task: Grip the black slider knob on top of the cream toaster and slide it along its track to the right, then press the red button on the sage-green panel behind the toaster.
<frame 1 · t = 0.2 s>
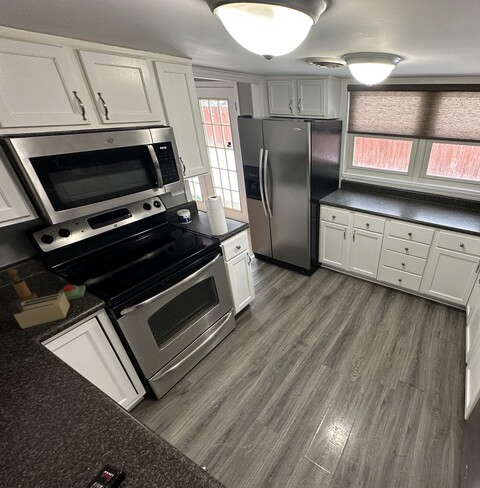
panel: (72, 295, 134), on the worktop
slider: (16, 306, 109), point 11 cm above the worktop, slide at 0.0 cm
toaster: (47, 317, 119), on the worktop
cancel button: (68, 288, 132), point 4 cm above the worktop, slide at 0.1 cm
wooden pepper mill: (28, 301, 129), on the worktop
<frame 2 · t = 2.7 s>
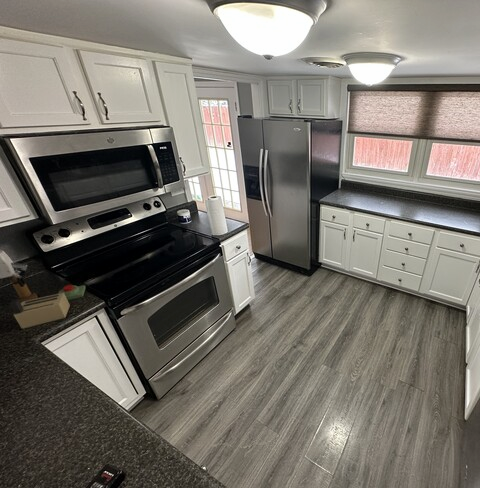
hand: (6, 288, 105), 20 cm above the worktop, tool pointing down, fingers open, 9 cm apart
nothing on the worktop moved.
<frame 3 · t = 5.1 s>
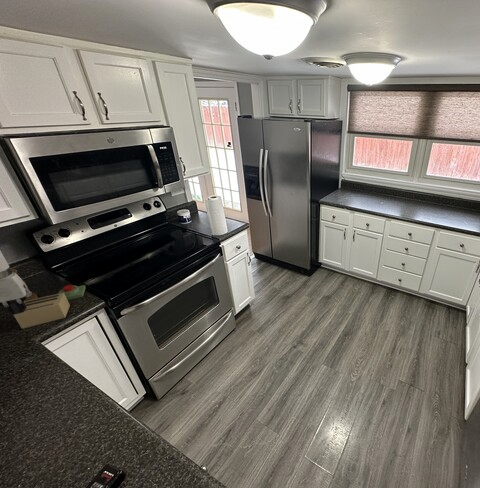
hand: (19, 311, 110), 8 cm above the worktop, tool pointing down, fingers closed on slider, 2 cm apart
slider: (16, 306, 109), point 11 cm above the worktop, slide at 0.0 cm, touching gripper
everything else where it was.
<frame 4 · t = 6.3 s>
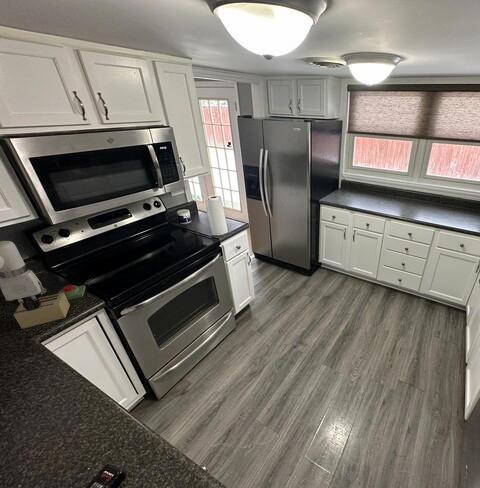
hand: (34, 307, 113), 8 cm above the worktop, tool pointing down, fingers closed on slider, 2 cm apart
slider: (31, 303, 112), point 11 cm above the worktop, slide at 4.4 cm, touching gripper
everything else where it was.
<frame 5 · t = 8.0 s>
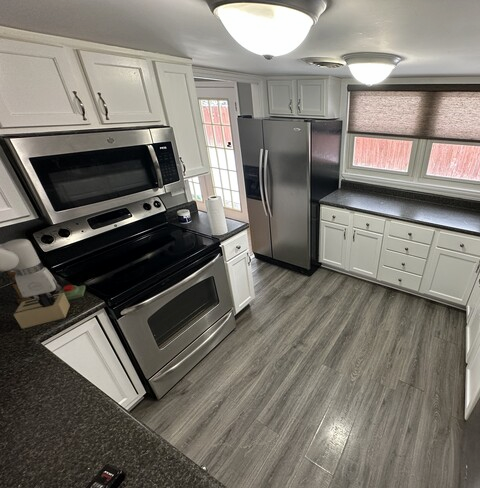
hand: (49, 304, 115), 8 cm above the worktop, tool pointing down, fingers closed on slider, 2 cm apart
slider: (46, 300, 114), point 11 cm above the worktop, slide at 9.1 cm, touching gripper
everything else where it was.
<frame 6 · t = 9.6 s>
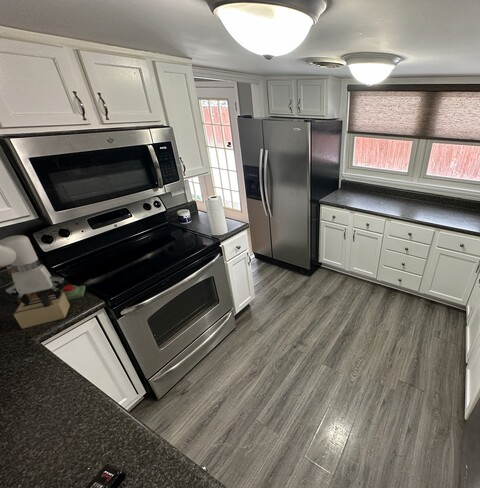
hand: (43, 300, 113), 11 cm above the worktop, tool pointing down, fingers open, 9 cm apart
slider: (45, 300, 114), point 11 cm above the worktop, slide at 8.8 cm
everything else where it was.
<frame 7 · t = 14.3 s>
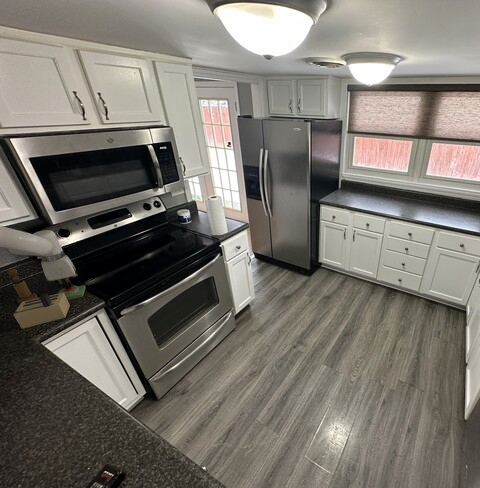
hand: (68, 288, 132), 5 cm above the worktop, tool pointing down, fingers closed
cancel button: (69, 289, 132), point 4 cm above the worktop, slide at -0.7 cm, touching gripper
everything else where it was.
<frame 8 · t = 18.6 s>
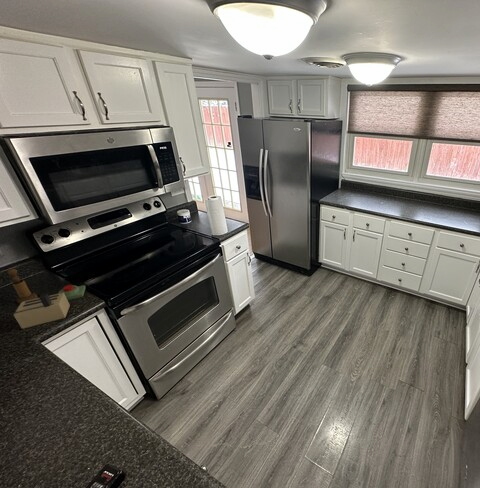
cancel button: (68, 288, 132), point 4 cm above the worktop, slide at 0.1 cm
everything else where it was.
at the end: slider slide at 8.8 cm; cancel button pushed in 1.0 cm at the most during the clip, back to where it started at the end; cancel button slide at 0.1 cm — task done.
